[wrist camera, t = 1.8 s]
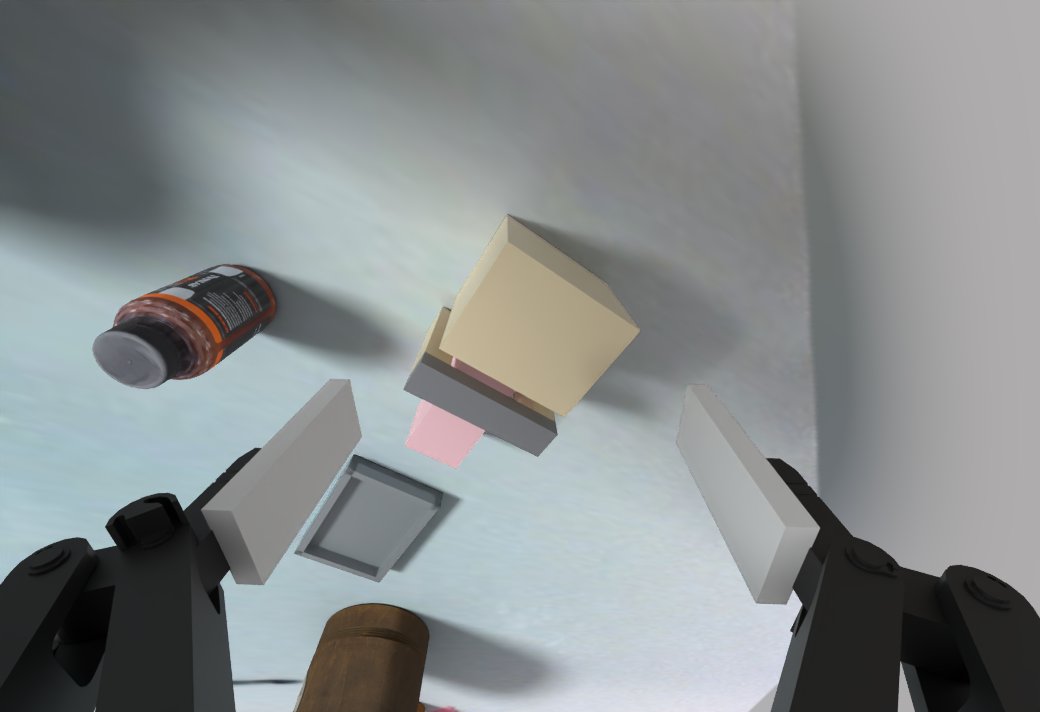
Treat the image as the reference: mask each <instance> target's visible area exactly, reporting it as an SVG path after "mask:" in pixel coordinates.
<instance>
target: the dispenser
mask: <svg viewBox="0 0 1040 712" xmlns="http://www.w3.org/2000/svg"><path fill="white" fill-rule="evenodd" d="M639 332H640V329H639V328H638V326H637V325H636V324H635V322H634V321H633V320H632V318H631V317H630V315H629V314H628V313H627V311H626V310H625V309H624V307H623V306H622V304H621V303H620V302H619V300H618V299H617V298H616V296H615V295H614V293H613V292H612V291H611V289H610V288H609V287H608V285H607V284H606V283H605V282H604V281H603V280H601V279H600V278H598V277H597V276H595V275H594V274H593V273H591V272H590V271H588V270H587V269H585V268H584V267H582V266H581V265H580V264H578V263H577V262H575V261H574V260H572V259H571V258H570V257H568V256H567V255H565V254H564V253H562V252H561V251H559V250H558V249H557V248H555V247H554V246H552V245H551V244H549V243H548V242H547V241H545V240H544V239H542V238H541V237H539V236H538V235H536V234H535V233H534V232H532V231H531V230H529V229H528V228H526V227H525V226H524V225H522V224H521V223H519V222H518V221H516V220H515V219H513V218H512V217H511V216H509V215H508V214H507V216H506V217H505V219H504V220H503V222H502V224H501V225H500V227H499V228H498V230H497V232H496V233H495V235H494V236H493V238H492V240H491V241H490V243H489V244H488V246H487V248H486V249H485V251H484V252H483V254H482V256H481V257H480V259H479V260H478V262H477V264H476V265H475V267H474V268H473V270H472V272H471V273H470V275H469V276H468V278H467V280H466V281H465V283H464V284H463V286H462V288H461V289H460V291H459V292H458V294H457V296H456V299H455V302H454V305H453V308H452V311H449V310H448V309H446V308H444V307H442V309H441V310H440V312H439V314H438V315H437V317H436V318H435V320H434V322H433V323H432V325H431V327H430V328H429V330H428V333H427V335H426V337H425V340H424V342H423V344H422V347H421V349H420V352H419V354H418V356H417V359H416V361H415V363H414V366H413V368H412V370H411V373H410V375H409V378H408V380H407V382H406V385H405V387H404V389H403V390H405V391H407V392H409V393H411V394H413V395H415V396H417V397H419V398H421V399H423V400H425V401H427V402H429V403H431V404H433V405H435V406H437V407H439V408H441V409H443V410H445V411H447V412H449V413H451V414H453V415H455V416H457V417H459V418H461V419H463V420H465V421H467V422H469V423H471V424H473V425H475V426H477V427H479V428H481V429H483V430H485V431H487V432H489V433H491V434H493V435H495V436H497V437H499V438H501V439H503V440H505V441H507V442H509V443H511V444H513V445H515V446H517V447H519V448H521V449H523V450H525V451H527V452H529V453H531V454H533V455H535V456H537V457H538V456H539V455H540V454H541V453H542V452H543V450H544V449H545V448H546V447H547V446H548V445H549V444H550V443H551V442H552V440H553V439H554V438H555V437H556V436H557V435H558V434H557V428H556V423H555V417H554V412H555V413H557V414H559V415H561V416H563V417H565V416H566V415H567V414H568V413H569V412H570V411H571V410H572V408H573V407H574V406H575V405H576V404H577V403H578V402H579V400H580V399H581V398H582V397H583V396H584V395H585V394H586V393H587V391H588V390H589V389H590V388H591V387H592V386H593V385H594V383H595V382H596V381H597V380H598V379H599V378H600V377H601V375H602V374H603V373H604V372H605V371H606V370H607V369H608V368H609V366H610V365H611V364H612V363H613V362H614V361H615V360H616V358H617V357H618V356H619V355H620V354H621V353H622V352H623V350H624V349H625V348H626V347H627V346H628V345H629V344H630V342H631V341H632V340H633V339H634V338H635V337H636V336H637V335H638V333H639ZM453 357H455V358H457V359H459V360H461V361H462V362H464V363H466V364H468V365H470V366H472V367H473V368H475V369H477V370H479V371H481V372H482V373H484V374H486V375H488V376H490V377H492V378H493V379H495V380H497V381H499V382H501V383H503V384H504V385H506V386H508V387H510V388H512V389H513V390H515V391H516V392H515V393H514V399H512V398H510V397H508V396H506V395H505V394H503V393H501V392H499V391H497V390H495V389H493V388H492V387H490V386H488V385H486V384H484V383H482V382H480V381H479V380H477V379H475V378H473V377H471V376H469V375H468V374H466V373H464V372H462V371H460V370H458V369H456V368H455V367H453V366H451V363H452V359H453ZM553 411H554V412H553Z"/></svg>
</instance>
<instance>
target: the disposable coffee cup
mask: <svg viewBox="0 0 1040 712" xmlns="http://www.w3.org/2000/svg"><path fill="white" fill-rule="evenodd" d="M417 712H425V707H424V706H423V705H422V704H421V703H418V709H417Z"/></svg>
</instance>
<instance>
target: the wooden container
mask: <svg viewBox="0 0 1040 712" xmlns="http://www.w3.org/2000/svg"><path fill="white" fill-rule="evenodd" d="M428 641H429V632H428V629H427V627H426V626H425V624H424V623H423V622H422V621H421V620H420V619H419V618H418V617H416V616H415V615H413V614H412V613H410V612H407V611H405V610H402V609H400V608H396V607H393V606H388V605H380V604H364V605H356V606H352V607H348V608H345V609H343V610H340V611H339V612H337V613H335V614H334V615H333V616H332V617H331V618H330V619H329V620H328V621H327V623H326V626H325V628H324V631H323V633H322V636H321V638H320V641H319V644H318V646H317V649H316V652H315V654H314V656H313V659H312V661H311V664H310V666H309V669H308V672H307V674H306V677H305V680H304V683H303V685H302V688H301V691H300V694H299V696H298V699H297V702H296V705H295V708H294V711H293V712H417V709H418V703H419V697H420V691H421V684H422V678H423V672H424V665H425V660H426V654H427V648H428Z"/></svg>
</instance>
